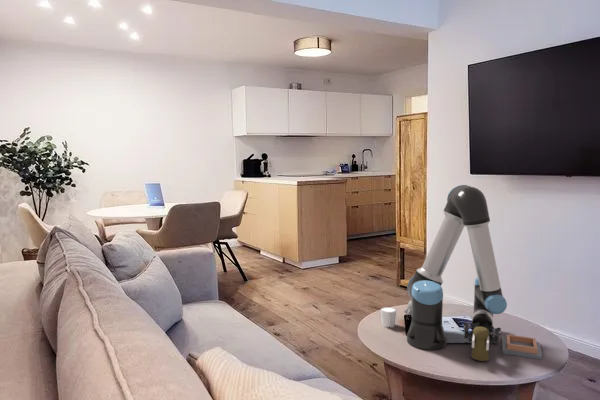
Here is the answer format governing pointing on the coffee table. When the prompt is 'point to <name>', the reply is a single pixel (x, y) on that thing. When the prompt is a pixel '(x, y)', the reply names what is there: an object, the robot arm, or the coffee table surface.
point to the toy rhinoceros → (409, 308)
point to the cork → (480, 344)
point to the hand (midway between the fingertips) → (480, 345)
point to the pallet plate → (521, 346)
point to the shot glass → (388, 316)
